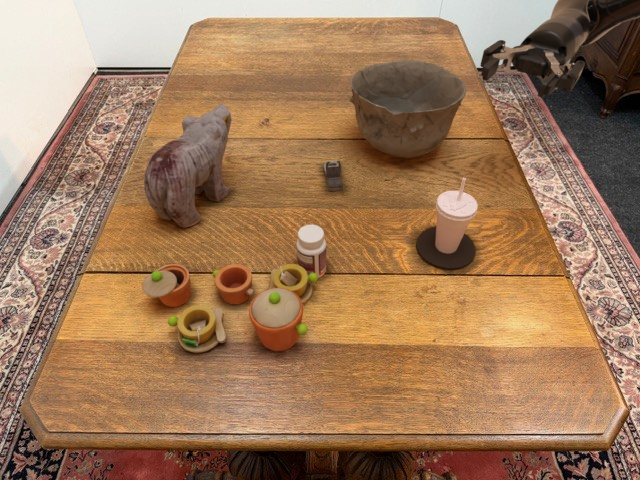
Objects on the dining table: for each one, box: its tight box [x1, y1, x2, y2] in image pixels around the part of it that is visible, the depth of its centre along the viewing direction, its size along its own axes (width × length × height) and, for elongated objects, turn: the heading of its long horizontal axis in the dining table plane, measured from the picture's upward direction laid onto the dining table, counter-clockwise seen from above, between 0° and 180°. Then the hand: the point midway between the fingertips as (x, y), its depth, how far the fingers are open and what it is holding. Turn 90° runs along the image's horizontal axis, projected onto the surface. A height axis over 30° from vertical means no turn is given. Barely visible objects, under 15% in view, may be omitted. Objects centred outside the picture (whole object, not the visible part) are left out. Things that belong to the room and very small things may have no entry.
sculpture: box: [143, 103, 232, 229], centre depth 86 cm, size 12×21×15 cm, turn 175°
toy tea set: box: [141, 263, 319, 353], centre depth 69 cm, size 26×16×10 cm, turn 91°
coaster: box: [415, 226, 477, 271], centre depth 81 cm, size 10×10×1 cm
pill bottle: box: [295, 224, 327, 279], centre depth 75 cm, size 5×5×8 cm
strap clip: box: [323, 160, 344, 192], centre depth 94 cm, size 8×3×4 cm, turn 7°
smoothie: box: [435, 177, 479, 253], centre depth 76 cm, size 6×6×14 cm
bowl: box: [349, 59, 467, 159], centre depth 98 cm, size 22×22×15 cm
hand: (513, 82), depth 69 cm, fingers open, 8 cm apart
